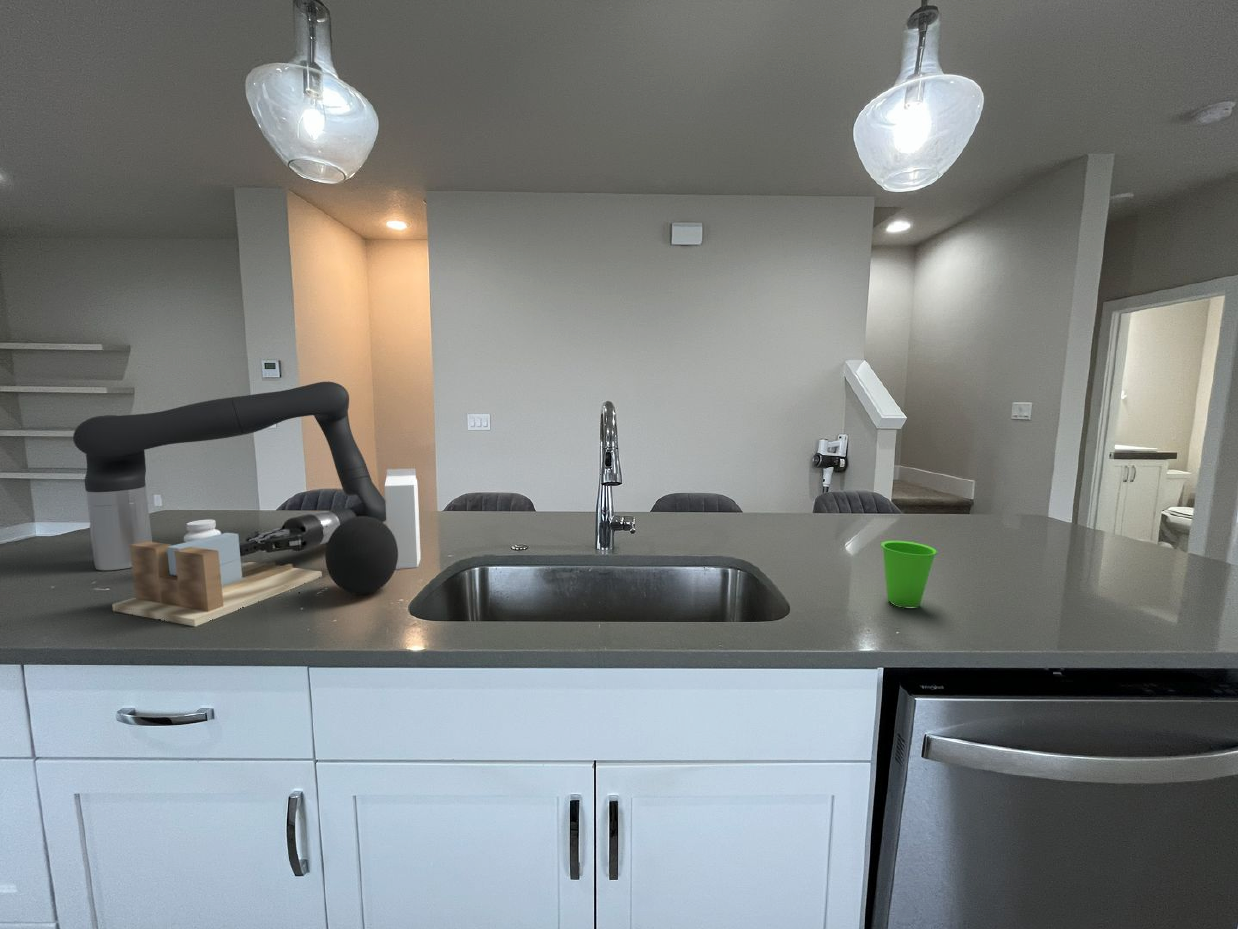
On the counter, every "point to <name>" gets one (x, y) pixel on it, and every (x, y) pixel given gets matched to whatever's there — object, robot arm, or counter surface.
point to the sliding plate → (227, 555)
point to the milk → (403, 515)
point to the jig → (200, 584)
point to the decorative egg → (361, 555)
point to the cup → (906, 571)
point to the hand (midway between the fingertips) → (234, 551)
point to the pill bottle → (200, 530)
